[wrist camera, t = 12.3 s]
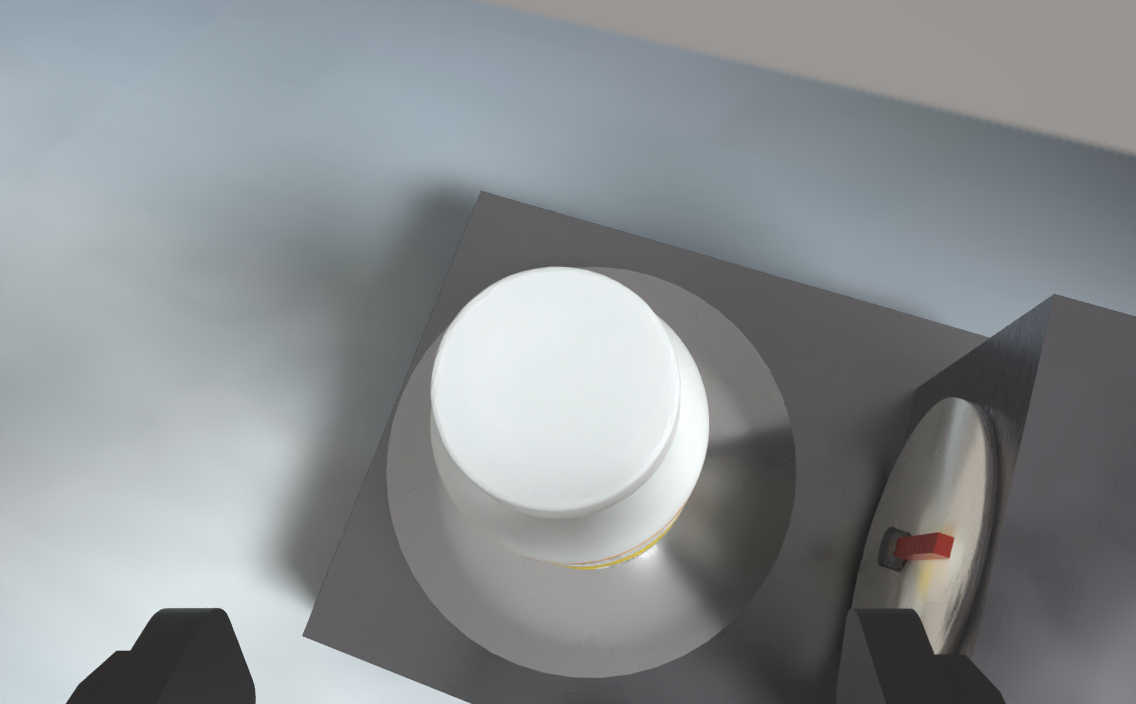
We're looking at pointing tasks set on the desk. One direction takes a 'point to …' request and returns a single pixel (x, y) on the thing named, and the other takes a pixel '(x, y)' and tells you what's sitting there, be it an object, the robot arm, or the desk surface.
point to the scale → (777, 502)
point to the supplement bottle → (567, 418)
